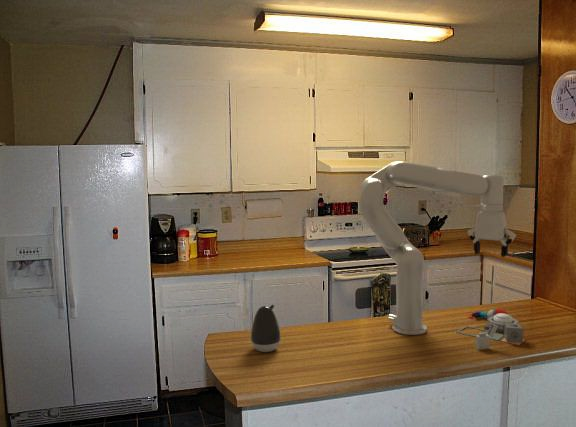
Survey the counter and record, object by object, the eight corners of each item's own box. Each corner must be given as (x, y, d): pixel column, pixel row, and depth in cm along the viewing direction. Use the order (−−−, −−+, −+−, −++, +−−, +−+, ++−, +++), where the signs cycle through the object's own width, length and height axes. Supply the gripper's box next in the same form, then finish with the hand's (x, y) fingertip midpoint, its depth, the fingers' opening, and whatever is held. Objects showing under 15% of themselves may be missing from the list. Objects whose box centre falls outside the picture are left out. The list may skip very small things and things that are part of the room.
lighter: (478, 349, 162) (478, 326, 161) (475, 347, 164) (475, 324, 163) (497, 347, 163) (498, 324, 162) (494, 345, 165) (494, 322, 164)
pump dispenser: (286, 346, 169) (285, 304, 167) (270, 357, 160) (269, 312, 158) (262, 342, 174) (261, 300, 172) (245, 351, 165) (243, 308, 164)
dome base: (484, 328, 182) (484, 321, 181) (494, 322, 189) (494, 314, 189) (512, 334, 175) (512, 326, 175) (521, 327, 182) (521, 319, 182)
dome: (490, 324, 182) (491, 315, 181) (497, 320, 186) (497, 311, 186) (508, 328, 177) (508, 318, 177) (514, 323, 182) (514, 314, 182)
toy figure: (467, 322, 194) (506, 323, 184) (465, 310, 195) (504, 310, 185) (474, 319, 200) (512, 320, 190) (473, 307, 200) (511, 307, 190)
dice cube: (522, 342, 166) (522, 328, 166) (506, 341, 168) (506, 327, 167) (519, 337, 171) (519, 323, 171) (504, 336, 172) (504, 323, 172)
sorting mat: (456, 332, 178) (456, 331, 178) (465, 326, 185) (465, 326, 185) (517, 346, 164) (517, 345, 164) (525, 339, 170) (525, 338, 170)
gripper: (464, 208, 181) (463, 253, 183) (512, 210, 169) (511, 259, 171) (472, 206, 186) (471, 250, 188) (520, 209, 174) (518, 256, 176)
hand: (490, 254), depth 179 cm, fingers open, 9 cm apart
